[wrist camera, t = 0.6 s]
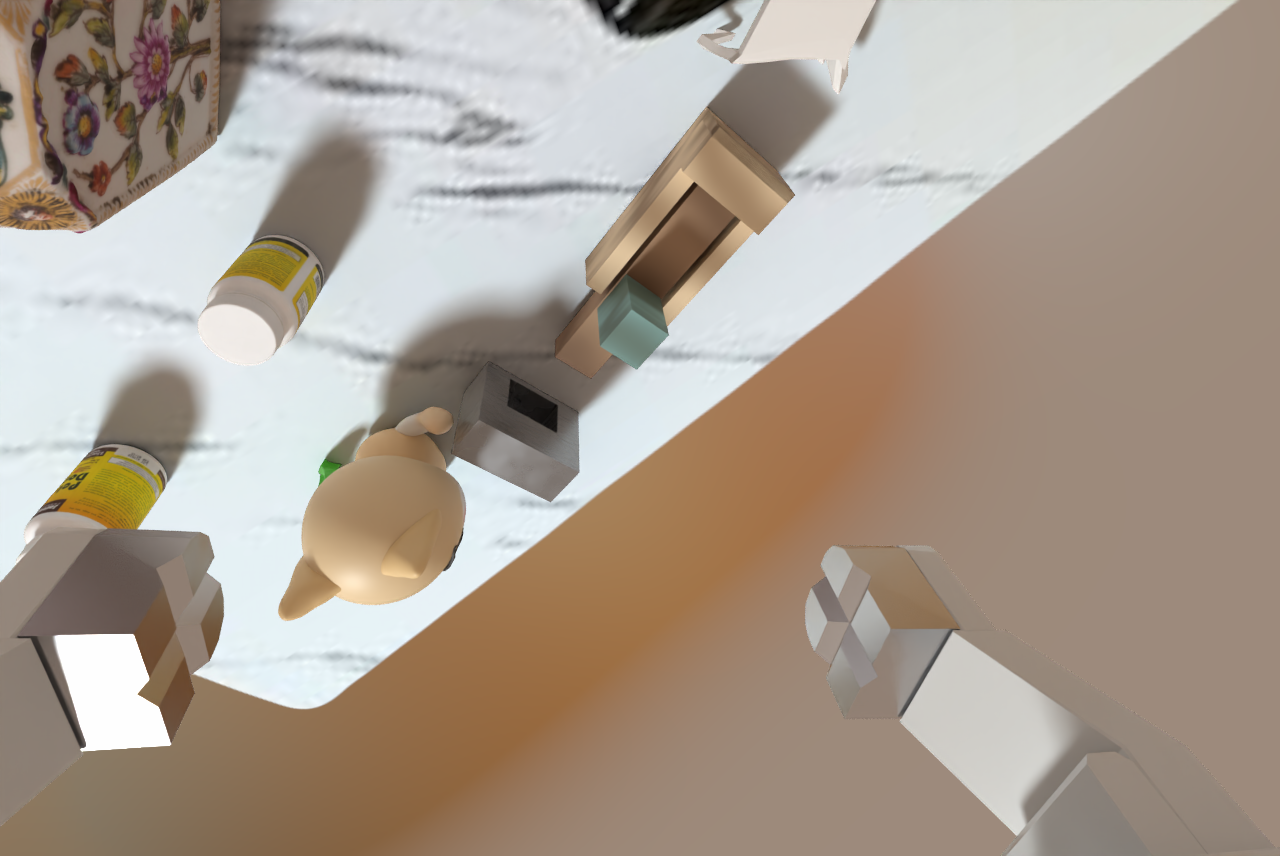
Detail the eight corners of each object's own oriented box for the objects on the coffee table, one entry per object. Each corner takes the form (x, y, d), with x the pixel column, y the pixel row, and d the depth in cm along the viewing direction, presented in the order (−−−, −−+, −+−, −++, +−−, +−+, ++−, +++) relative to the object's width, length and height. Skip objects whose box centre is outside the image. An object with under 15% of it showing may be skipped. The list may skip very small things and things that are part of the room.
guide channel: (706, 106, 40) (719, 126, 36) (776, 170, 42) (795, 194, 39) (585, 260, 45) (586, 290, 41) (654, 308, 48) (660, 340, 44)
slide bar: (710, 151, 40) (732, 191, 35) (745, 182, 41) (772, 225, 36) (555, 340, 47) (553, 397, 42) (590, 361, 48) (592, 419, 43)
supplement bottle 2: (229, 249, 42) (167, 315, 36) (292, 221, 42) (241, 282, 35) (281, 312, 45) (232, 383, 39) (341, 286, 45) (302, 354, 38)
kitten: (358, 522, 58) (305, 681, 46) (279, 440, 52) (194, 599, 40) (515, 465, 56) (501, 619, 44) (450, 373, 49) (414, 521, 38)
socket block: (488, 361, 49) (478, 419, 44) (578, 412, 53) (579, 472, 47) (463, 393, 51) (451, 453, 45) (552, 440, 54) (550, 502, 49)
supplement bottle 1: (110, 428, 50) (23, 530, 42) (184, 468, 53) (116, 571, 45) (74, 467, 52) (-16, 571, 44) (147, 504, 55) (75, 608, 47)
